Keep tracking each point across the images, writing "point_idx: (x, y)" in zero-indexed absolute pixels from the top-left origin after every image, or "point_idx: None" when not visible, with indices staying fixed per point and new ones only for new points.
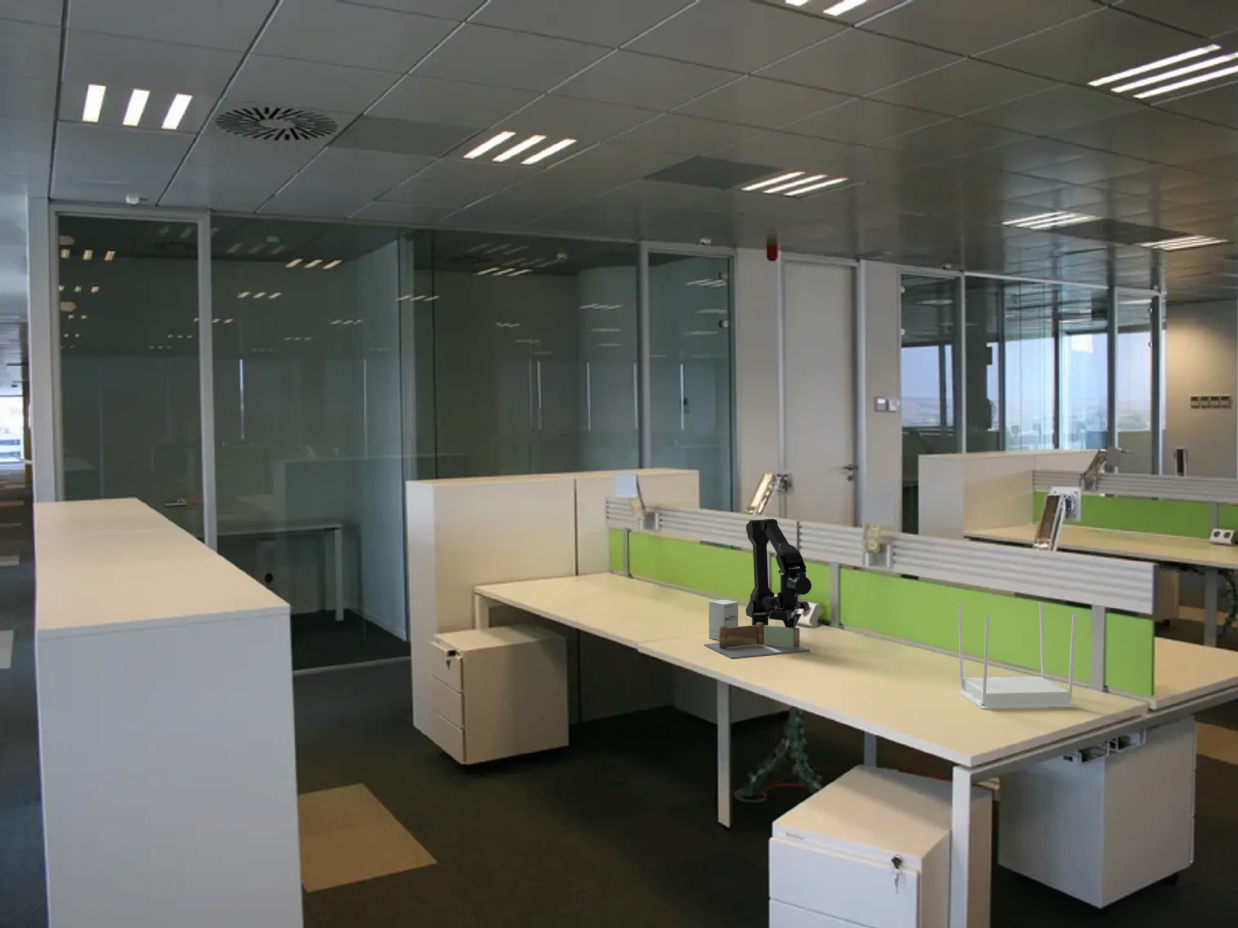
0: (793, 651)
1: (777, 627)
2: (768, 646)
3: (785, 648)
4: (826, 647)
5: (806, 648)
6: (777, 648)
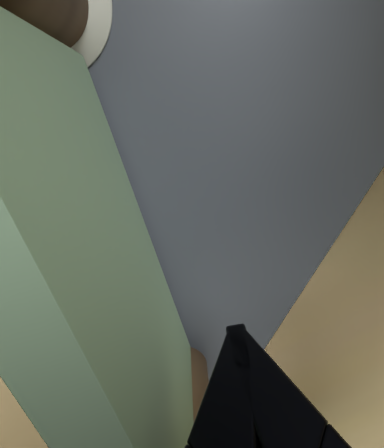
0: None
1: (9, 375)
2: None
3: None
4: (373, 428)
5: None
6: None
